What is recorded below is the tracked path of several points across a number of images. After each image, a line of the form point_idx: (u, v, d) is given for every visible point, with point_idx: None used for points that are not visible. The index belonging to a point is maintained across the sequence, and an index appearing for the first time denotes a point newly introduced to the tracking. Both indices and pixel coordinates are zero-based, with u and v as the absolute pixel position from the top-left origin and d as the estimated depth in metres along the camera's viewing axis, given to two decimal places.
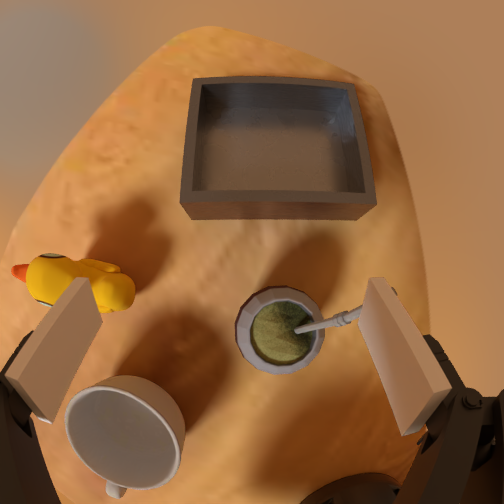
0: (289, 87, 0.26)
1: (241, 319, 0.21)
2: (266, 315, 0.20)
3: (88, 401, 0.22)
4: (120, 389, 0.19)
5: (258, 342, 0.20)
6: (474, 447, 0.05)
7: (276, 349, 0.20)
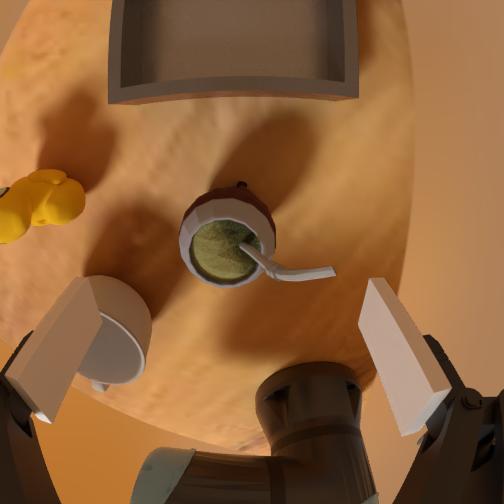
0: None
1: (181, 235, 0.19)
2: (206, 233, 0.19)
3: None
4: None
5: (199, 260, 0.19)
6: (474, 447, 0.05)
7: (218, 267, 0.20)
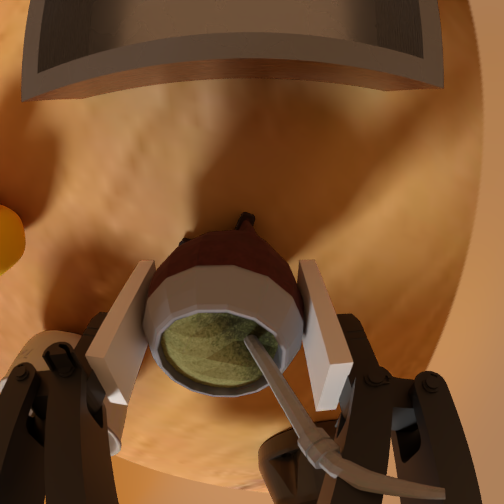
0: None
1: (146, 322, 0.11)
2: (185, 326, 0.10)
3: None
4: None
5: (177, 362, 0.11)
6: (388, 426, 0.06)
7: (209, 374, 0.11)
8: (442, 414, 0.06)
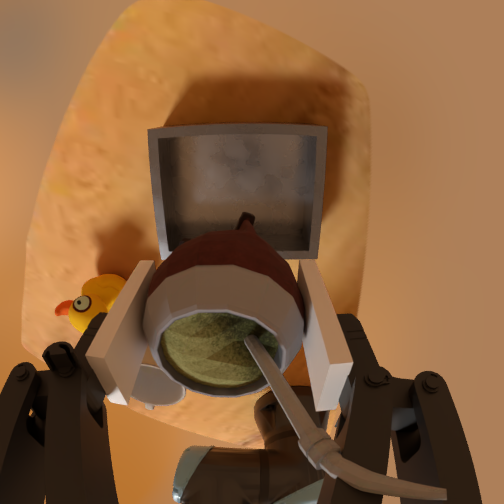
0: None
1: (145, 322, 0.11)
2: (185, 326, 0.10)
3: None
4: (147, 364, 0.36)
5: (177, 362, 0.11)
6: (388, 425, 0.06)
7: (209, 374, 0.11)
8: (442, 414, 0.06)
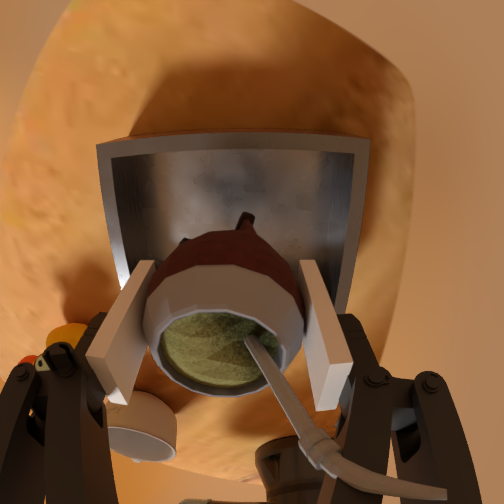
0: None
1: (145, 322, 0.11)
2: (185, 326, 0.10)
3: None
4: (129, 428, 0.27)
5: (177, 362, 0.11)
6: (388, 425, 0.06)
7: (209, 374, 0.11)
8: (442, 415, 0.06)
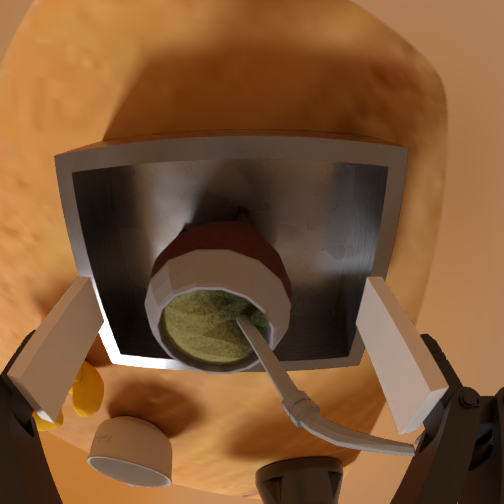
0: None
1: (148, 300, 0.12)
2: (184, 304, 0.11)
3: None
4: (120, 460, 0.23)
5: (175, 338, 0.12)
6: (472, 446, 0.05)
7: (204, 350, 0.12)
8: None
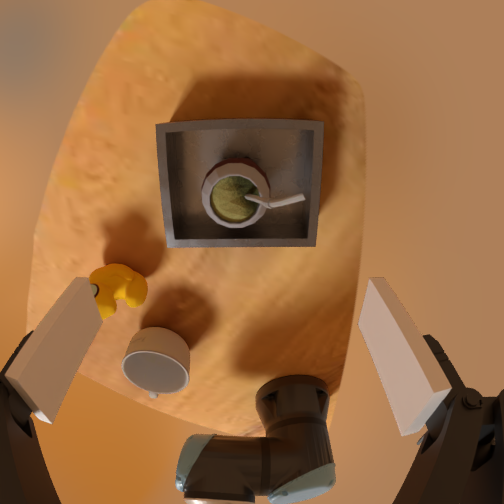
0: None
1: (204, 187, 0.27)
2: (222, 185, 0.27)
3: None
4: (152, 351, 0.38)
5: (216, 205, 0.27)
6: (474, 447, 0.05)
7: (229, 210, 0.28)
8: None
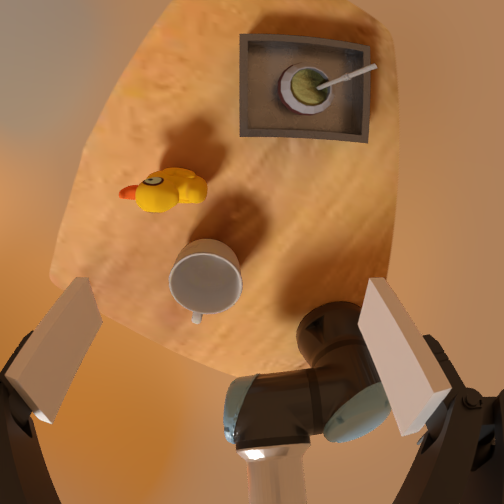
0: (318, 45, 0.30)
1: (284, 77, 0.29)
2: (300, 75, 0.29)
3: None
4: (208, 253, 0.40)
5: (295, 90, 0.29)
6: (474, 447, 0.05)
7: (305, 95, 0.30)
8: None
